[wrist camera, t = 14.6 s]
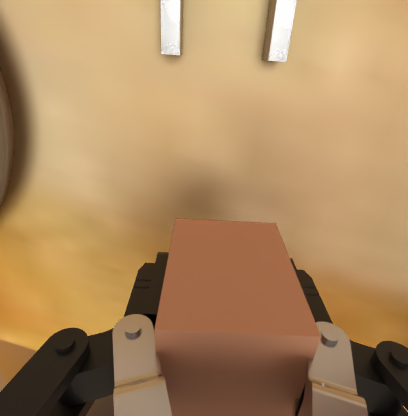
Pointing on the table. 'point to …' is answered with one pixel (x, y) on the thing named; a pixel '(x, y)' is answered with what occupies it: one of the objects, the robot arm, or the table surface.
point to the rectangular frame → (274, 37)
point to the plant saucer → (5, 140)
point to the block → (232, 321)
